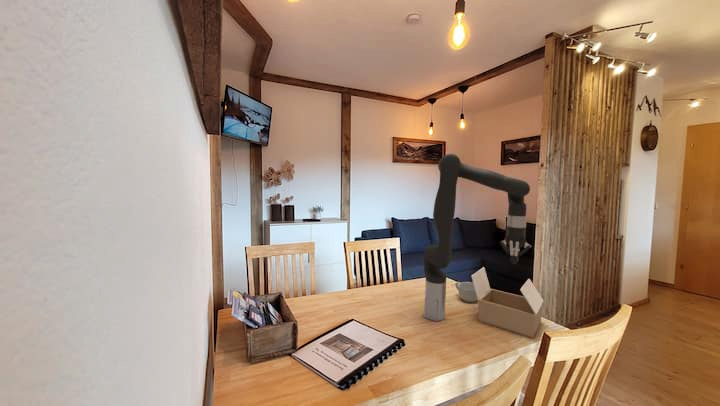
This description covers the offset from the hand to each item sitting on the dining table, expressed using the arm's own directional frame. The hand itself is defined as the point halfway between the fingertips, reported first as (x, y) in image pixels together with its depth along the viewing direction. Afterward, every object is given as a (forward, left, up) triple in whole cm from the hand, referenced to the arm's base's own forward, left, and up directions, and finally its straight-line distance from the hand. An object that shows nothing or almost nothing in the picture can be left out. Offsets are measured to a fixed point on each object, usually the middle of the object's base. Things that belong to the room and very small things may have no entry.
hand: (513, 263), depth 131 cm
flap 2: (-2, -8, -12) cm, 15 cm away
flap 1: (-2, +13, -11) cm, 17 cm away
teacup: (+10, +24, -27) cm, 37 cm away
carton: (-2, 0, -27) cm, 27 cm away
